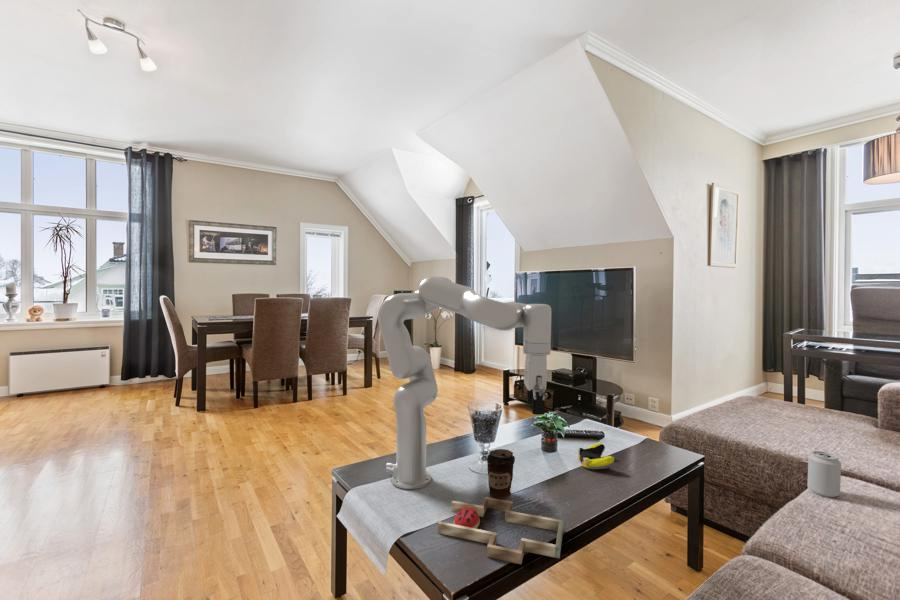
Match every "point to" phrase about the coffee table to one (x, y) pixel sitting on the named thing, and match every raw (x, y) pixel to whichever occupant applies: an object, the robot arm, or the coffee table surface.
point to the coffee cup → (500, 473)
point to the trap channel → (491, 537)
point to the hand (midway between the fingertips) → (535, 408)
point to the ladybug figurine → (467, 518)
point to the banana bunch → (595, 457)
